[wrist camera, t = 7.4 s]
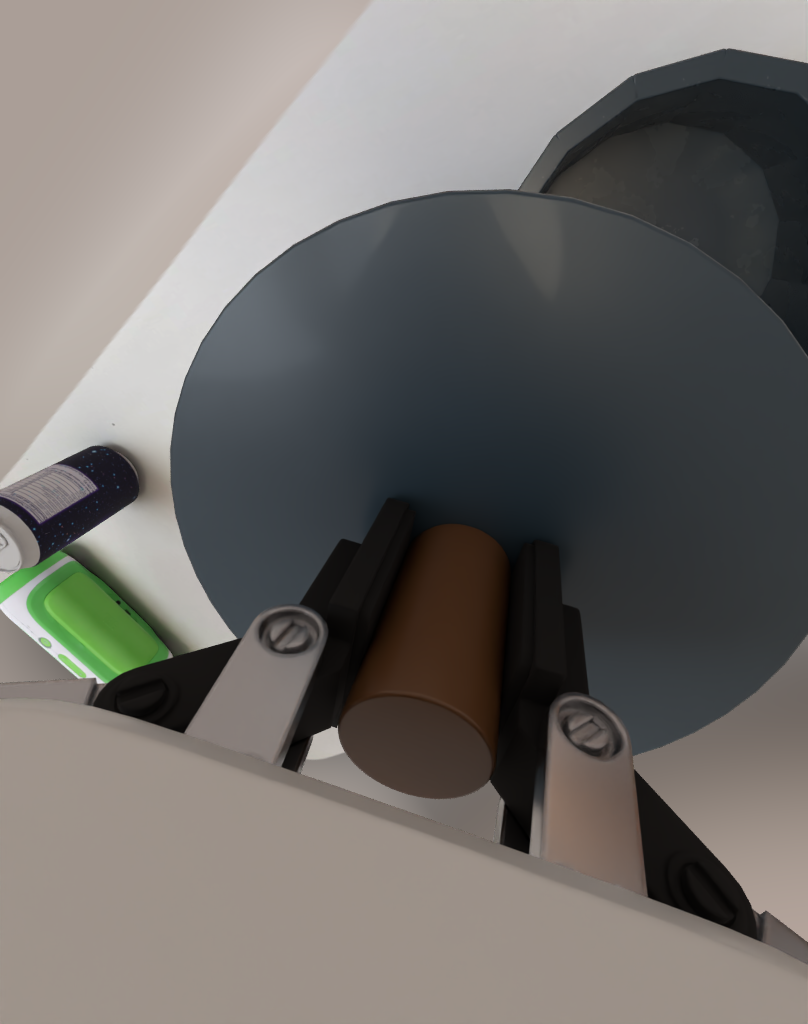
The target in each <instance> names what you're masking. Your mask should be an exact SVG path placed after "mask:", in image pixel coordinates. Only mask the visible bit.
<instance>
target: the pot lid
mask: <svg viewBox="0 0 808 1024" xmlns="http://www.w3.org/2000/svg"><path fill="white" fill-rule="evenodd" d="M170 460H171V488H172V494H173V501H174V508H175V514H176V519H177V522H178V526H179V529H180V533H181V536H182V540H183V544H184V547H185V549H186V552H187V554H188V557H189V559H190V561H191V564H192V566H193V569H194V571H195V574H196V576H197V578H198V580H199V581H200V583H201V585H202V587H203V589H204V591H205V592H206V594H207V596H208V598H209V600H210V602H211V603H212V605H213V606H214V608H215V609H216V610H217V612H218V613H219V615H220V616H221V618H222V619H223V621H224V622H225V624H226V625H227V626H228V628H229V629H230V630H231V631H232V633H233V634H234V635H235V636H236V637H237V639H240V638H243V637H244V635H245V634H246V632H247V630H248V629H249V627H250V625H251V624H252V622H253V621H254V620H255V618H256V617H257V616H258V615H259V614H260V613H261V612H263V611H265V610H266V609H268V608H270V607H273V606H276V605H280V604H299V603H300V602H301V600H302V599H303V597H304V596H305V594H306V592H307V591H308V589H309V588H310V586H311V585H312V583H313V581H314V580H315V578H316V577H317V575H318V574H319V572H320V570H321V569H322V567H323V566H324V564H325V563H326V561H327V559H328V558H329V556H330V555H331V553H332V552H333V550H334V548H335V547H336V545H337V544H338V542H339V541H340V540H341V539H346V540H350V541H353V542H356V543H360V544H362V542H363V540H364V539H365V537H366V535H367V533H368V531H369V530H370V528H371V526H372V524H373V522H374V521H375V519H376V517H377V515H378V514H379V512H380V510H381V508H382V506H383V505H384V503H385V501H386V499H387V498H388V497H389V498H392V499H396V500H399V501H403V502H406V503H409V510H413V511H416V515H415V520H414V524H413V528H412V533H411V537H410V541H409V545H408V550H407V552H406V555H405V557H404V560H403V562H402V565H401V567H400V570H399V572H398V575H397V577H396V580H395V582H394V584H393V587H392V589H391V592H390V594H389V597H388V599H387V602H386V604H385V607H384V609H383V612H382V614H381V616H380V619H379V621H378V624H377V626H376V629H375V631H374V634H373V636H372V639H371V641H370V643H369V646H368V648H367V651H366V653H365V656H364V658H363V661H362V663H361V666H360V668H359V670H358V673H357V675H356V678H355V680H354V683H353V685H352V688H351V690H350V692H349V695H348V697H347V700H346V702H345V705H344V707H343V710H342V712H341V715H340V718H339V721H338V734H339V739H340V742H341V745H342V747H343V749H344V751H345V752H346V754H347V755H348V757H349V758H350V759H351V761H352V762H353V763H354V764H355V765H356V766H357V767H358V768H359V769H361V770H362V771H363V772H364V773H365V774H367V775H368V776H369V777H371V778H373V779H374V780H376V781H377V782H379V783H381V784H383V785H385V786H387V787H389V788H391V789H394V790H397V791H399V792H402V793H405V794H408V795H413V796H417V797H423V798H430V799H451V798H457V797H462V796H466V795H469V794H471V793H474V792H475V791H478V790H479V789H480V788H482V787H483V786H484V785H485V784H486V783H487V782H488V781H489V780H490V778H491V776H492V775H493V773H494V770H495V768H496V761H497V748H498V735H499V722H500V709H501V696H502V683H503V671H504V658H505V645H506V632H507V620H508V607H509V594H510V581H511V574H512V572H513V569H514V567H515V564H516V562H517V559H518V557H519V554H520V551H521V549H522V546H523V544H524V543H528V544H532V543H533V541H534V540H535V539H536V540H540V541H543V542H547V543H550V544H554V545H557V546H559V556H560V572H561V588H562V603H563V604H565V605H569V606H572V607H575V608H578V609H579V610H580V615H581V623H582V632H583V642H584V651H585V660H586V669H587V678H588V688H589V695H590V696H592V697H594V698H596V699H598V700H600V701H601V702H603V703H604V704H605V705H607V706H608V707H609V708H611V709H612V710H613V711H614V712H615V713H616V714H617V716H618V717H619V718H620V719H621V720H622V722H623V724H624V725H625V727H626V729H627V730H628V733H629V737H630V741H631V747H632V756H635V755H638V754H641V753H644V752H647V751H650V750H654V749H657V748H660V747H663V746H665V745H667V744H670V743H672V742H674V741H676V740H679V739H681V738H683V737H686V736H688V735H690V734H692V733H695V732H696V731H698V730H700V729H702V728H703V727H705V726H707V725H709V724H710V723H712V722H714V721H715V720H717V719H719V718H721V717H723V716H724V715H726V714H727V713H729V712H730V711H731V710H733V709H734V708H735V707H737V706H738V705H740V704H741V703H742V702H744V701H745V700H746V699H748V698H749V697H750V696H752V695H753V694H754V693H756V692H757V691H758V690H759V689H760V688H761V687H762V686H763V685H764V684H765V683H766V682H767V681H768V680H769V679H770V678H771V677H772V676H773V675H774V674H775V673H777V672H778V671H779V670H780V669H781V668H782V666H784V665H785V663H786V662H787V661H788V660H789V658H790V657H791V656H792V654H793V653H794V652H795V650H796V649H797V648H798V646H799V645H800V644H801V642H802V641H803V640H804V639H805V637H806V636H807V635H808V356H807V355H806V354H805V352H804V351H803V349H802V348H801V346H800V345H799V343H798V342H797V341H796V339H795V338H794V336H793V335H792V333H791V332H790V330H789V329H788V328H787V326H786V325H785V323H784V322H783V320H782V319H781V318H780V317H779V316H778V315H777V314H776V313H775V312H774V311H773V310H772V309H771V308H770V307H769V306H768V305H767V304H766V303H765V302H764V301H763V300H762V299H761V298H760V297H759V296H758V295H757V294H756V293H755V292H754V291H753V290H752V289H751V288H750V287H749V286H748V285H747V284H746V283H745V282H744V281H743V280H742V279H741V278H740V277H738V276H737V275H735V274H734V273H732V272H731V271H730V270H728V269H727V268H725V267H724V266H722V265H721V264H720V263H718V262H717V261H715V260H714V259H713V258H711V257H710V256H708V255H707V254H705V253H704V252H703V251H701V250H700V249H698V248H697V247H695V246H694V245H693V244H691V243H690V242H688V241H685V240H683V239H681V238H679V237H677V236H675V235H673V234H671V233H669V232H667V231H665V230H663V229H660V228H658V227H656V226H654V225H652V224H650V223H648V222H646V221H644V220H642V219H640V218H637V217H635V216H633V215H630V214H627V213H623V212H620V211H616V210H613V209H610V208H606V207H603V206H599V205H596V204H593V203H589V202H586V201H582V200H579V199H576V198H572V197H565V196H557V195H549V194H542V193H534V192H526V191H519V190H511V189H504V190H467V191H446V192H440V193H435V194H430V195H424V196H419V197H413V198H408V199H402V200H397V201H392V202H389V203H386V204H383V205H380V206H377V207H374V208H372V209H369V210H366V211H363V212H360V213H357V214H355V215H352V216H349V217H346V218H343V219H340V220H338V221H336V222H334V223H333V224H331V225H329V226H327V227H325V228H323V229H322V230H320V231H318V232H316V233H314V234H312V235H310V236H309V237H307V238H305V239H303V240H301V241H299V242H298V243H296V244H294V245H293V246H291V247H290V248H289V249H287V250H286V251H285V252H284V253H282V254H281V255H280V256H278V257H277V258H276V259H274V260H273V261H272V262H271V263H269V264H268V265H267V266H265V267H264V268H263V269H262V270H260V271H259V272H258V273H256V274H255V275H254V276H253V277H252V279H251V280H250V281H249V282H248V283H247V284H246V285H245V286H244V287H243V288H242V289H241V290H240V291H239V292H238V294H237V295H236V296H235V297H234V298H233V299H232V300H231V301H230V302H229V303H228V304H227V305H226V306H225V308H224V309H223V311H222V312H221V314H220V315H219V317H218V318H217V320H216V321H215V323H214V324H213V326H212V327H211V329H210V330H209V332H208V333H207V335H206V336H205V338H204V339H203V341H202V342H201V344H200V347H199V349H198V351H197V353H196V355H195V357H194V360H193V362H192V364H191V366H190V368H189V371H188V373H187V375H186V377H185V380H184V383H183V387H182V390H181V394H180V397H179V401H178V404H177V408H176V412H175V417H174V424H173V432H172V440H171V448H170Z"/></svg>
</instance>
